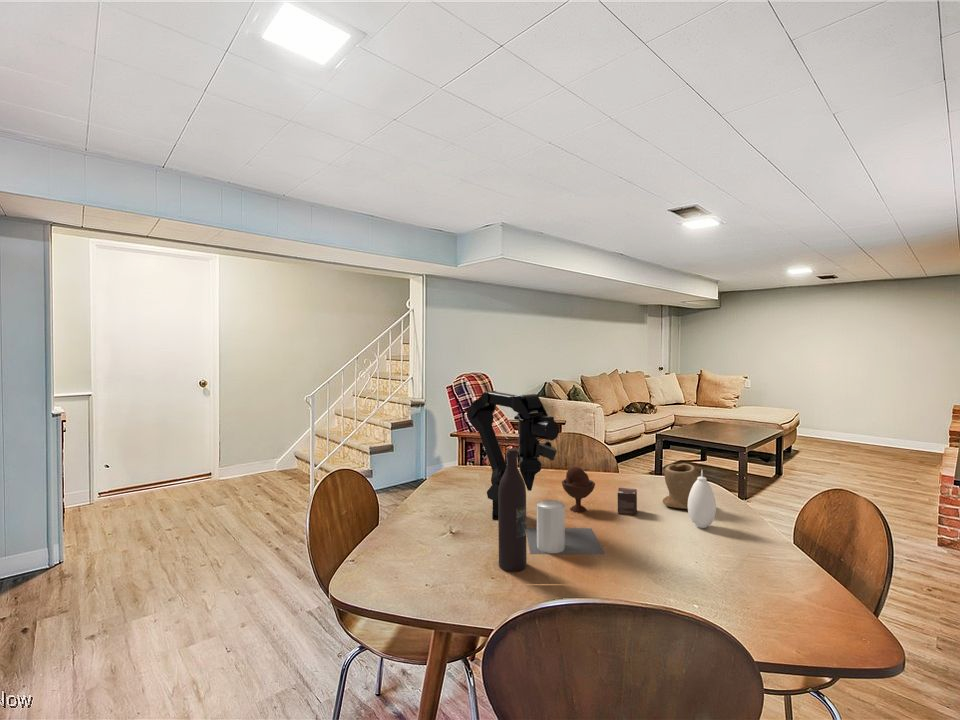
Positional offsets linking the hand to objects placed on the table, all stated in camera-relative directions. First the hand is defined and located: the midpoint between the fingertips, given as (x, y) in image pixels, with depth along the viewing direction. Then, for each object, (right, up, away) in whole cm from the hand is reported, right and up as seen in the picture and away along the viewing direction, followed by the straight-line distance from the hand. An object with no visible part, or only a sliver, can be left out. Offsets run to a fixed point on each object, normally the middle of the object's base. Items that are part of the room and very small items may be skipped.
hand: (528, 486), depth 148 cm
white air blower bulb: (+53, -13, 0) cm, 55 cm away
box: (+34, -13, +14) cm, 39 cm away
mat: (+9, -13, -10) cm, 19 cm away
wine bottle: (-7, -14, -25) cm, 30 cm away
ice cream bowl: (+19, -13, +16) cm, 28 cm away
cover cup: (+5, -13, -15) cm, 20 cm away
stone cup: (+56, -12, +17) cm, 59 cm away
